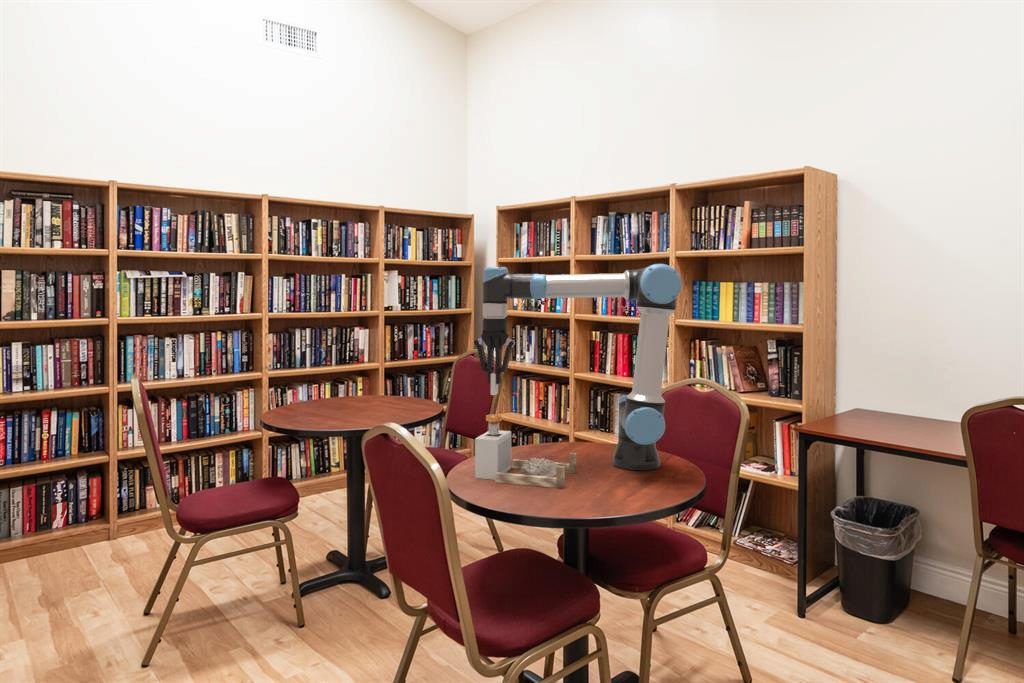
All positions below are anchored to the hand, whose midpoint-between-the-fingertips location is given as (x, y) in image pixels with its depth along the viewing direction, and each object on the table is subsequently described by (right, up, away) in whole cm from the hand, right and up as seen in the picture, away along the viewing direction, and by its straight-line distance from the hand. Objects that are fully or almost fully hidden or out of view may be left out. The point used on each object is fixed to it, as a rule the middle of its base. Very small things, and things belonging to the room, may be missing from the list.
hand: (494, 394), depth 204 cm
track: (+13, -25, -2) cm, 28 cm away
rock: (+14, -25, -3) cm, 29 cm away
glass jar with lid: (0, -15, +1) cm, 15 cm away
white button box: (0, -25, +2) cm, 25 cm away
